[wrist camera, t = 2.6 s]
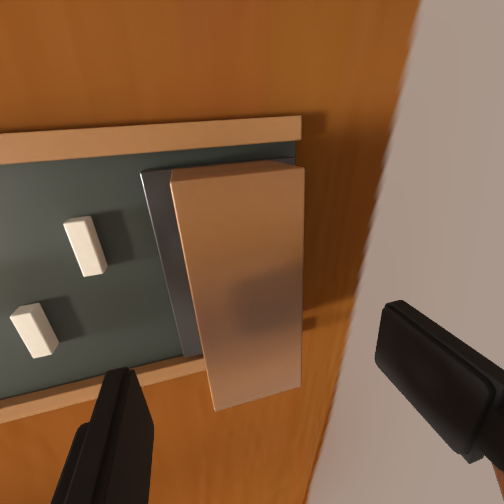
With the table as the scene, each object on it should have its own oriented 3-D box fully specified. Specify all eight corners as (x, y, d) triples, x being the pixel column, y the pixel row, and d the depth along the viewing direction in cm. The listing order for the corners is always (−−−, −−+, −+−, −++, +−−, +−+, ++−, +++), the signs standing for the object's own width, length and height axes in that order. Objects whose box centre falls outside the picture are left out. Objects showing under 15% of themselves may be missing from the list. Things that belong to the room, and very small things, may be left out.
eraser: (142, 169, 13) (121, 186, 8) (287, 155, 15) (341, 163, 10) (183, 345, 18) (186, 421, 13) (289, 320, 20) (325, 379, 15)
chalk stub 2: (69, 217, 13) (62, 223, 12) (91, 215, 13) (85, 220, 13) (89, 269, 14) (83, 277, 14) (108, 265, 15) (103, 273, 14)
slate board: (-385, 158, 9) (-465, 161, 8) (292, 117, 15) (302, 115, 13) (-100, 433, 16) (-122, 456, 15) (292, 335, 21) (299, 346, 20)
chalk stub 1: (19, 305, 14) (8, 316, 13) (39, 302, 14) (30, 312, 14) (41, 346, 15) (33, 359, 15) (59, 342, 16) (52, 354, 15)
